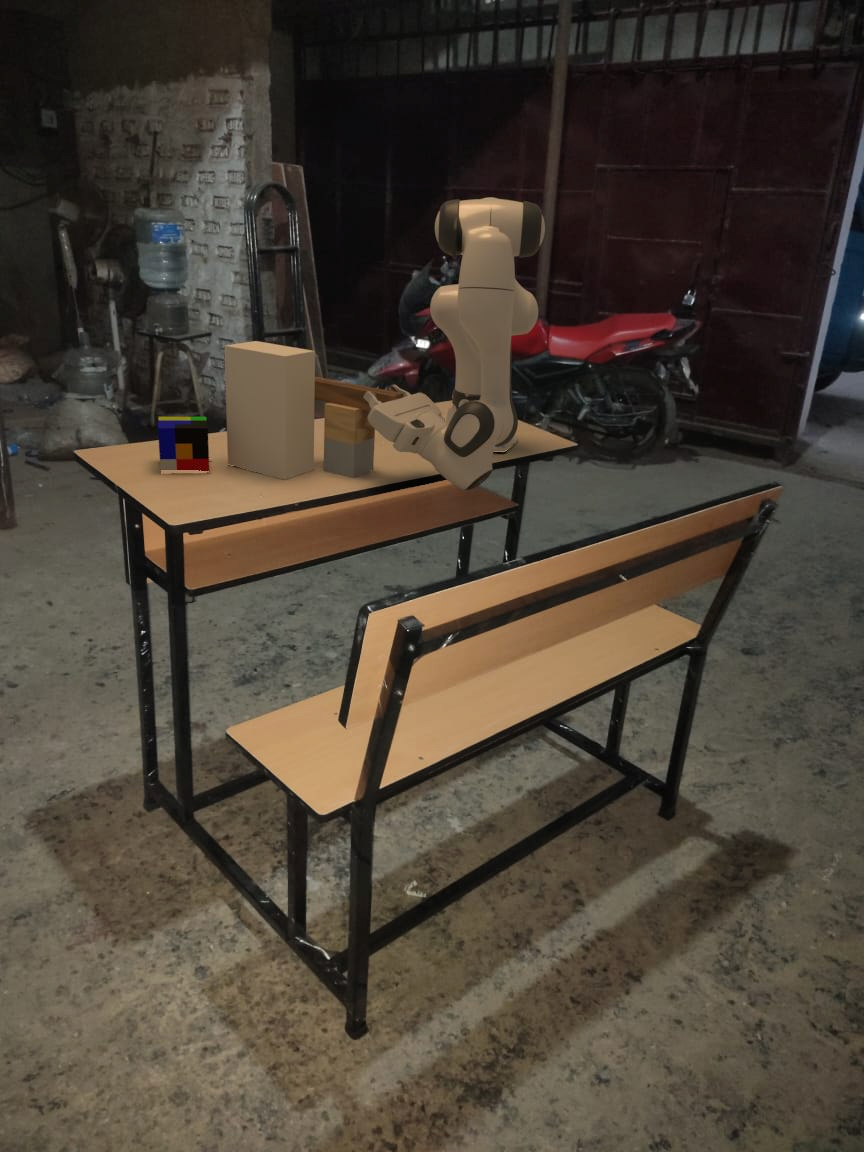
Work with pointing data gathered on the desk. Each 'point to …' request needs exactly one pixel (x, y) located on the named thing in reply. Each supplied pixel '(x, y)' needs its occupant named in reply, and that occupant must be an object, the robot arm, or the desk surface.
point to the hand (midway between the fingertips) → (378, 390)
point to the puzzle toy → (183, 443)
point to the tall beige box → (270, 408)
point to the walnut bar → (350, 393)
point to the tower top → (347, 424)
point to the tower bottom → (348, 457)
